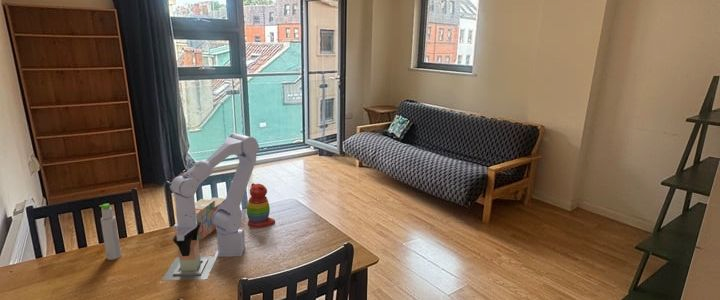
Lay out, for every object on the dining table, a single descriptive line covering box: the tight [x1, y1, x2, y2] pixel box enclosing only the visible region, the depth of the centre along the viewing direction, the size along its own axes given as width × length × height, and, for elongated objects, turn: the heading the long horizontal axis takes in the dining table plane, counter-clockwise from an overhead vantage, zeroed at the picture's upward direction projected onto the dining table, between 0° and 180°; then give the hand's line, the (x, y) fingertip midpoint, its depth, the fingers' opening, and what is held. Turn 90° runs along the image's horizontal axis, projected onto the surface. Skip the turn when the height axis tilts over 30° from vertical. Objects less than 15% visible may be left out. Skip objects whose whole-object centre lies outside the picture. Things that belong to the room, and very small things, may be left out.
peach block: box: [177, 240, 200, 260], centre depth 135 cm, size 5×5×4 cm
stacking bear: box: [246, 182, 276, 229], centre depth 169 cm, size 11×10×18 cm
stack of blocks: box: [186, 196, 226, 241], centre depth 164 cm, size 21×6×12 cm, turn 168°
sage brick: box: [180, 251, 201, 272], centre depth 137 cm, size 5×5×4 cm
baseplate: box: [161, 255, 218, 281], centre depth 137 cm, size 14×14×1 cm
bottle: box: [99, 203, 122, 261], centre depth 140 cm, size 4×4×20 cm
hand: (189, 249), depth 135 cm, fingers open, 7 cm apart
